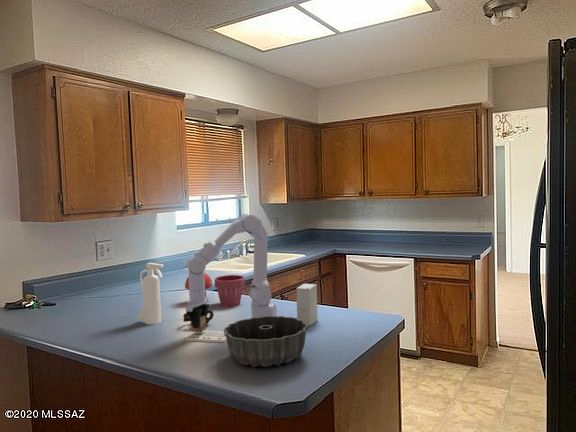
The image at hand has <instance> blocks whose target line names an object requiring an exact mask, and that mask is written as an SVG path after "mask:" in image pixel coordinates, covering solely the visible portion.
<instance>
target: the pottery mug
mask: <svg viewBox="0 0 576 432" xmlns="http://www.w3.org/2000/svg"><path fill="white" fill-rule="evenodd" d="M214 313H215V312H213V310H212V309H208V310H207V313H206V318H205V320H206V328H207V327H208V324H209V323H210V321H212V319H213V318H214V315H215V314H214ZM208 314H209V317H208ZM182 317H183V322H184V323H185V322H191V319H190V317H189V315H188V314H187V312H185V313H184V314H183V316H182Z"/></svg>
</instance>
